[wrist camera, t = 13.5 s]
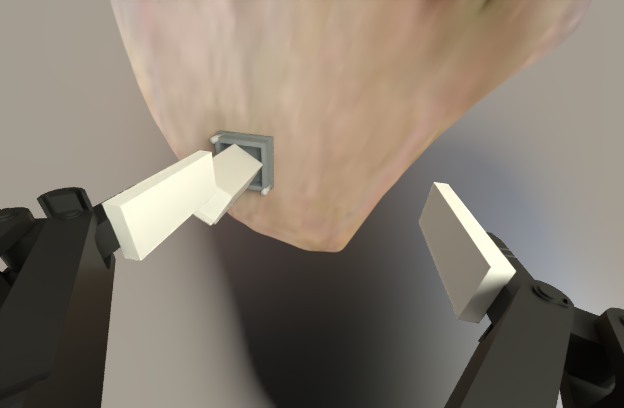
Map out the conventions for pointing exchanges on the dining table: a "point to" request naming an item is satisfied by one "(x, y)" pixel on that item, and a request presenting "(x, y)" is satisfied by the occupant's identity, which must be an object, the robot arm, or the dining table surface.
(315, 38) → the dining table surface
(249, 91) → the dining table surface
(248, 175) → the milk carton
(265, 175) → the seat block
